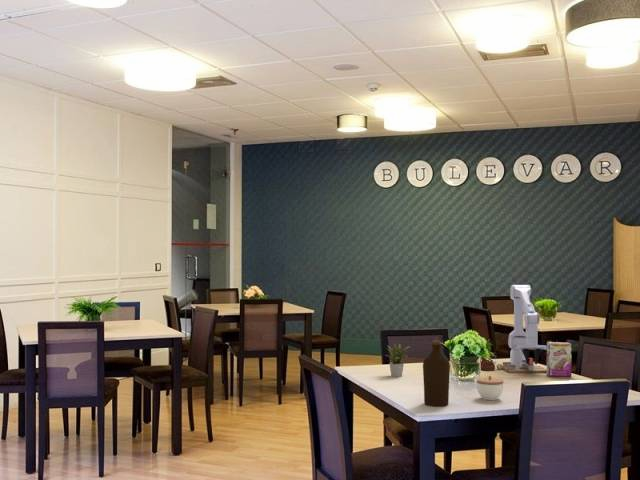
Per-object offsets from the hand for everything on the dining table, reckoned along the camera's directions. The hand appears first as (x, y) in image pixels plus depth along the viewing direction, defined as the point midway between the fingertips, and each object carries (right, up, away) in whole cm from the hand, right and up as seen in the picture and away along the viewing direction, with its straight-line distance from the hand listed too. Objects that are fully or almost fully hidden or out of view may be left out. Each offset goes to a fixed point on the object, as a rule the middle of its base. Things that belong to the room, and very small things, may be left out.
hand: (531, 363), depth 356 cm
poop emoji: (-20, -5, +11) cm, 23 cm away
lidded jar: (-37, -3, -66) cm, 75 cm away
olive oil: (-61, -3, -77) cm, 98 cm away
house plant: (-69, -4, -12) cm, 70 cm away
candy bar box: (+11, -5, -8) cm, 15 cm away
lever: (-1, -3, +7) cm, 8 cm away
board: (-1, -5, +8) cm, 9 cm away
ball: (-14, -5, +11) cm, 19 cm away
